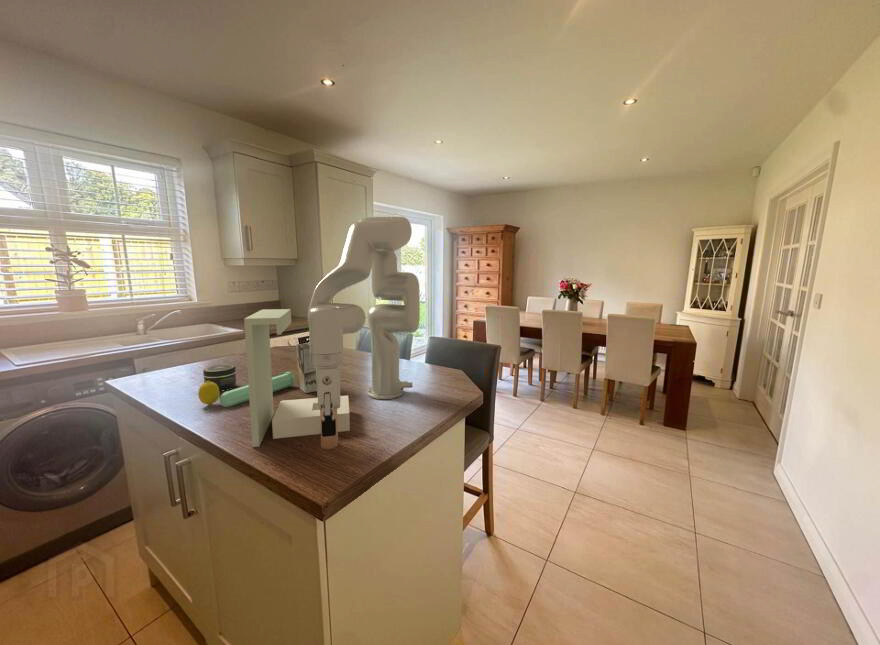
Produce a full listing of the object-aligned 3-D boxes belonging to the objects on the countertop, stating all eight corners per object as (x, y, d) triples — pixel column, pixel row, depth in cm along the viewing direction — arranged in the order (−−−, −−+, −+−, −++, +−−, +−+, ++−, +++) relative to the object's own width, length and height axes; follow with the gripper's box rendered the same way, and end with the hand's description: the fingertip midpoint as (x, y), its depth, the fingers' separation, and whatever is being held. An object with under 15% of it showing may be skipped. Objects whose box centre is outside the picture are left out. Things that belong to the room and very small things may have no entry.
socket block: (348, 411, 108) (348, 395, 107) (349, 430, 95) (349, 413, 94) (281, 417, 103) (280, 400, 102) (273, 438, 90) (272, 420, 89)
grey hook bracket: (295, 412, 106) (290, 309, 102) (285, 443, 87) (279, 317, 83) (268, 415, 104) (262, 309, 100) (252, 447, 85) (244, 318, 81)
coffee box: (323, 390, 127) (321, 346, 124) (304, 393, 123) (303, 348, 121) (314, 383, 134) (313, 342, 132) (297, 386, 130) (295, 344, 128)
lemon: (224, 403, 112) (222, 379, 111) (206, 409, 107) (204, 384, 106) (213, 401, 115) (211, 377, 113) (195, 406, 110) (193, 382, 108)
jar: (199, 389, 126) (197, 368, 125) (228, 382, 134) (226, 362, 133) (213, 394, 121) (211, 373, 120) (242, 386, 129) (241, 366, 128)
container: (223, 390, 108) (292, 369, 129) (214, 394, 111) (282, 373, 132) (229, 408, 107) (297, 385, 129) (219, 412, 110) (287, 388, 132)
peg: (338, 440, 89) (336, 395, 88) (338, 448, 85) (336, 400, 84) (321, 442, 88) (320, 396, 86) (320, 450, 84) (319, 402, 83)
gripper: (343, 366, 77) (345, 445, 79) (343, 350, 93) (344, 416, 95) (307, 369, 75) (310, 449, 77) (312, 351, 91) (315, 419, 93)
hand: (329, 430), depth 86 cm, fingers closed on peg, 4 cm apart
